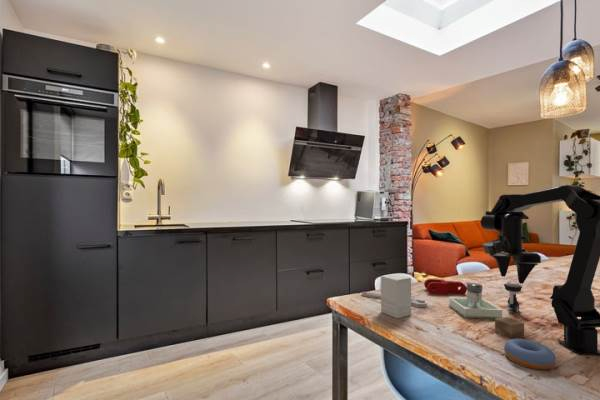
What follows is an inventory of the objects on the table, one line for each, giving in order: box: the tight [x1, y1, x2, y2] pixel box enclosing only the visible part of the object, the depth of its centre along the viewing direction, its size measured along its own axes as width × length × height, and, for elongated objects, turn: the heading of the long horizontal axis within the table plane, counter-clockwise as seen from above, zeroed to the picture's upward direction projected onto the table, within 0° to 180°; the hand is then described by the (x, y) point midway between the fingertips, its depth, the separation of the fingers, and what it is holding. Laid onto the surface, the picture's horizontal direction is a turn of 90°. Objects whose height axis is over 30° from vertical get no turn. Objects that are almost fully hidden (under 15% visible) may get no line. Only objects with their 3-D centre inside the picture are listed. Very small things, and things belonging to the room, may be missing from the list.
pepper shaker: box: [466, 282, 483, 309], centre depth 105 cm, size 5×5×9 cm
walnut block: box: [494, 316, 525, 340], centre depth 87 cm, size 5×5×4 cm
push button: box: [503, 281, 523, 314], centre depth 107 cm, size 7×5×10 cm
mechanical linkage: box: [423, 278, 467, 296], centre depth 129 cm, size 16×7×5 cm, turn 79°
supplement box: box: [380, 273, 412, 319], centre depth 103 cm, size 7×7×13 cm
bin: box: [448, 297, 503, 320], centre depth 105 cm, size 12×12×3 cm
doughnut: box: [503, 338, 557, 371], centre depth 72 cm, size 10×10×5 cm
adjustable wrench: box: [361, 291, 428, 308], centre depth 119 cm, size 25×6×2 cm, turn 54°
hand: (511, 279), depth 99 cm, fingers open, 9 cm apart
